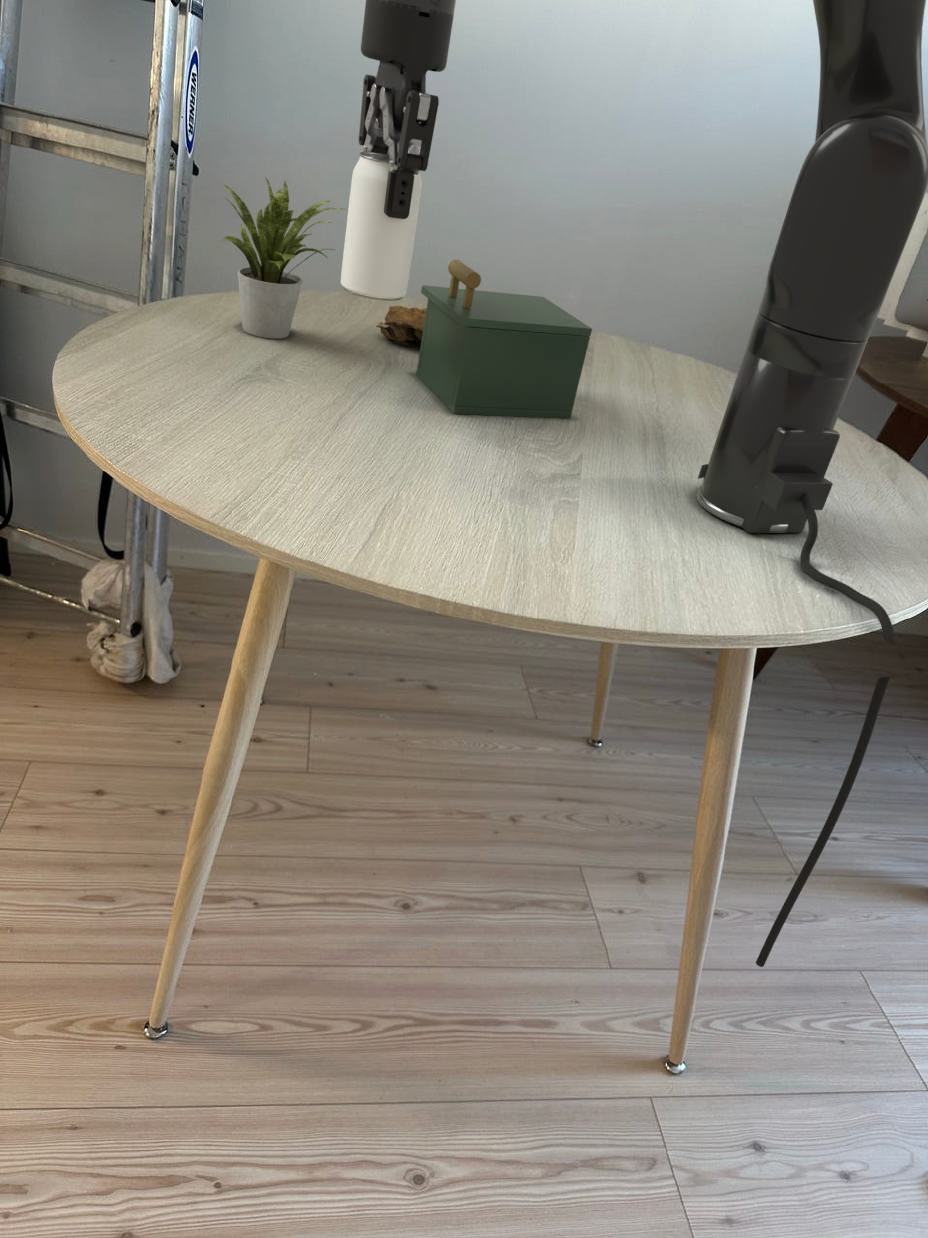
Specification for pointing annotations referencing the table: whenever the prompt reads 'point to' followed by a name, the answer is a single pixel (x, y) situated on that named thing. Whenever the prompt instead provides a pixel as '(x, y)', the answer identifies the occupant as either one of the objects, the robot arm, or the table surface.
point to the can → (377, 234)
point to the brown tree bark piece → (403, 323)
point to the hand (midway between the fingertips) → (384, 208)
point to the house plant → (271, 264)
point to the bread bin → (500, 368)
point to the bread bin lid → (499, 307)
